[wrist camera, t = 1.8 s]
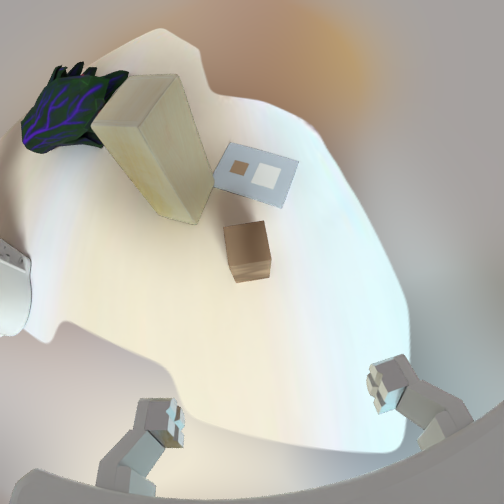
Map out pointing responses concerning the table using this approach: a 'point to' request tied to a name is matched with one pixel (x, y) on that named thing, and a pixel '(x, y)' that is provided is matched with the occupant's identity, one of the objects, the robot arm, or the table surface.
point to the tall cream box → (158, 145)
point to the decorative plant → (69, 108)
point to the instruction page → (255, 174)
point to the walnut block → (248, 251)
